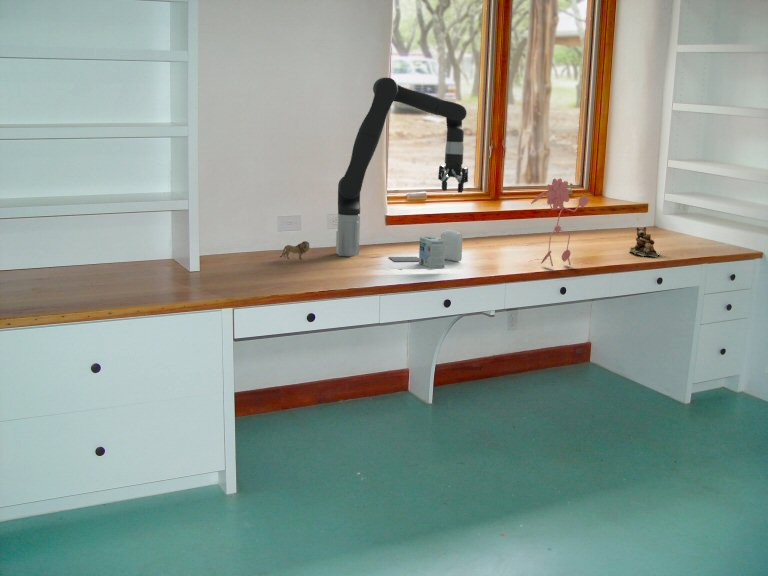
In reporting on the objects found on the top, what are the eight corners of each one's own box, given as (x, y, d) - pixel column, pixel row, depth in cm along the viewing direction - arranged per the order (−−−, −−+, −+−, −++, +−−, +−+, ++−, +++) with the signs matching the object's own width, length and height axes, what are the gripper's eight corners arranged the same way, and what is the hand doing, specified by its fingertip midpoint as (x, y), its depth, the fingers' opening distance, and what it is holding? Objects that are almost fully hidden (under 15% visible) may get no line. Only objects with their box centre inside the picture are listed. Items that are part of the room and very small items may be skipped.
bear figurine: (629, 256, 399) (631, 229, 397) (628, 251, 413) (630, 225, 411) (661, 258, 396) (663, 231, 394) (658, 253, 411) (661, 226, 408)
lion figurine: (309, 258, 365) (309, 240, 363) (308, 260, 360) (309, 242, 359) (279, 257, 364) (280, 239, 363) (279, 259, 360) (279, 241, 358)
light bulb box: (418, 263, 361) (419, 236, 359) (433, 262, 364) (434, 236, 362) (429, 268, 352) (431, 240, 349) (445, 267, 354) (446, 240, 352)
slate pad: (394, 261, 362) (394, 261, 362) (388, 257, 372) (388, 256, 372) (423, 261, 365) (423, 260, 365) (416, 257, 375) (416, 256, 375)
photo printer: (438, 258, 375) (439, 229, 372) (445, 257, 377) (447, 228, 375) (455, 262, 367) (456, 232, 365) (463, 261, 370) (464, 231, 367)
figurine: (587, 264, 372) (594, 179, 365) (537, 267, 360) (543, 180, 353) (564, 258, 385) (570, 176, 378) (514, 261, 373) (520, 176, 366)
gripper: (435, 151, 378) (433, 190, 382) (461, 153, 369) (459, 193, 372) (447, 151, 384) (445, 189, 387) (473, 153, 374) (470, 192, 377)
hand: (452, 191), depth 379 cm, fingers open, 8 cm apart
